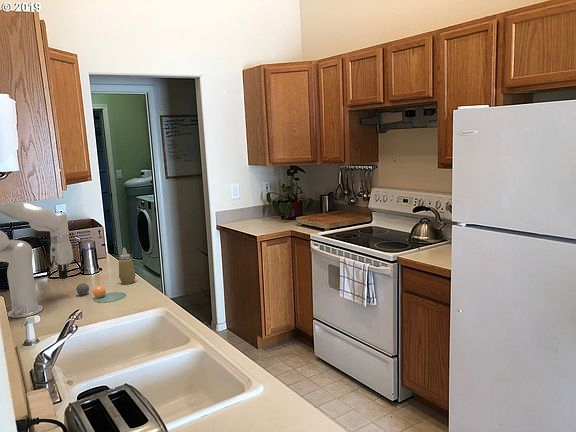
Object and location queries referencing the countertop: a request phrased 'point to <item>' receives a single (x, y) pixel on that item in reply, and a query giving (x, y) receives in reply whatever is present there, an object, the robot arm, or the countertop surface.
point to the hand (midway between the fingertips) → (63, 278)
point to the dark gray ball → (82, 289)
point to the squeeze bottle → (126, 268)
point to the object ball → (99, 291)
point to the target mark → (110, 297)
